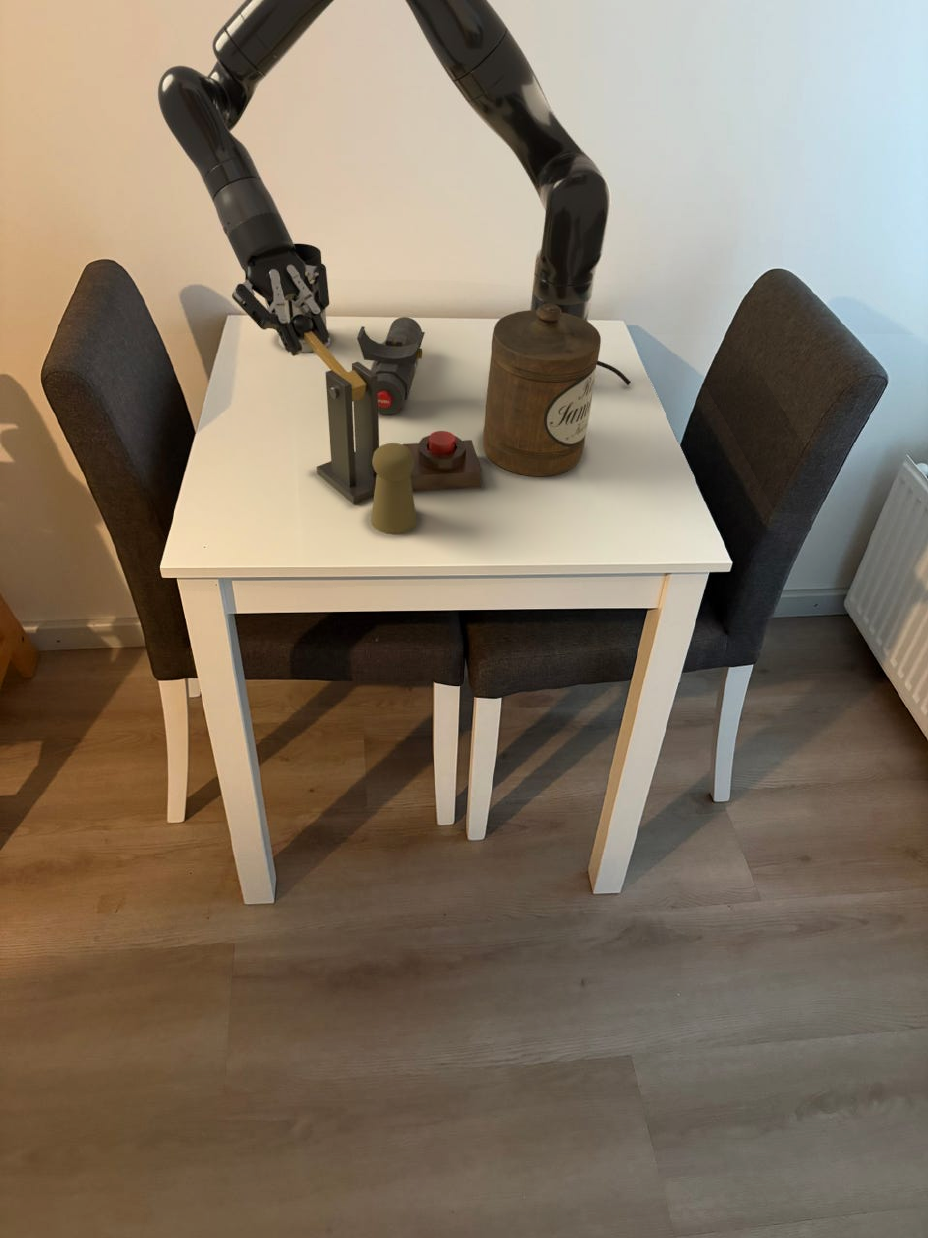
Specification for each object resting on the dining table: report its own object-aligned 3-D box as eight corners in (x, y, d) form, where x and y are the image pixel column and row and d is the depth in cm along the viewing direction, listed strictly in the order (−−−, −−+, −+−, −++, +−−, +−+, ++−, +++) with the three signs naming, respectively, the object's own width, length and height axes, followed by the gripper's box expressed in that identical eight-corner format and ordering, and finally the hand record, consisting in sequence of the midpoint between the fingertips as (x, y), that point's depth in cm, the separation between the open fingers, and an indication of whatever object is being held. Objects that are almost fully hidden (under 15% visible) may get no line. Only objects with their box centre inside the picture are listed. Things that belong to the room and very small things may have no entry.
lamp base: (470, 455, 129) (472, 428, 126) (480, 487, 124) (482, 460, 121) (402, 459, 128) (402, 432, 125) (409, 492, 122) (409, 464, 119)
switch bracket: (317, 473, 124) (308, 366, 113) (358, 457, 128) (354, 351, 116) (353, 505, 119) (348, 396, 108) (395, 487, 123) (395, 380, 112)
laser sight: (434, 352, 151) (435, 295, 145) (415, 422, 135) (416, 361, 128) (377, 347, 152) (376, 290, 145) (352, 415, 136) (349, 355, 129)
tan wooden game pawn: (370, 506, 119) (368, 436, 112) (415, 506, 120) (416, 435, 112) (371, 534, 115) (368, 463, 107) (417, 534, 115) (418, 462, 108)
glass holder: (329, 328, 156) (324, 241, 146) (331, 367, 146) (326, 277, 136) (278, 328, 155) (270, 241, 145) (277, 368, 145) (267, 278, 135)
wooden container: (571, 486, 125) (594, 339, 110) (470, 464, 128) (479, 318, 112) (591, 433, 135) (615, 292, 120) (497, 414, 138) (509, 273, 123)
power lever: (282, 333, 118) (284, 312, 116) (304, 326, 120) (306, 305, 117) (345, 407, 114) (348, 387, 111) (367, 399, 115) (371, 379, 112)
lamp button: (452, 440, 124) (453, 430, 123) (456, 455, 122) (457, 444, 121) (427, 442, 124) (427, 431, 123) (430, 456, 121) (431, 445, 120)
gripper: (211, 221, 109) (273, 352, 111) (309, 200, 116) (366, 324, 118) (197, 250, 116) (256, 374, 118) (291, 229, 123) (345, 346, 124)
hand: (311, 348), depth 118 cm, fingers closed on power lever, 3 cm apart
